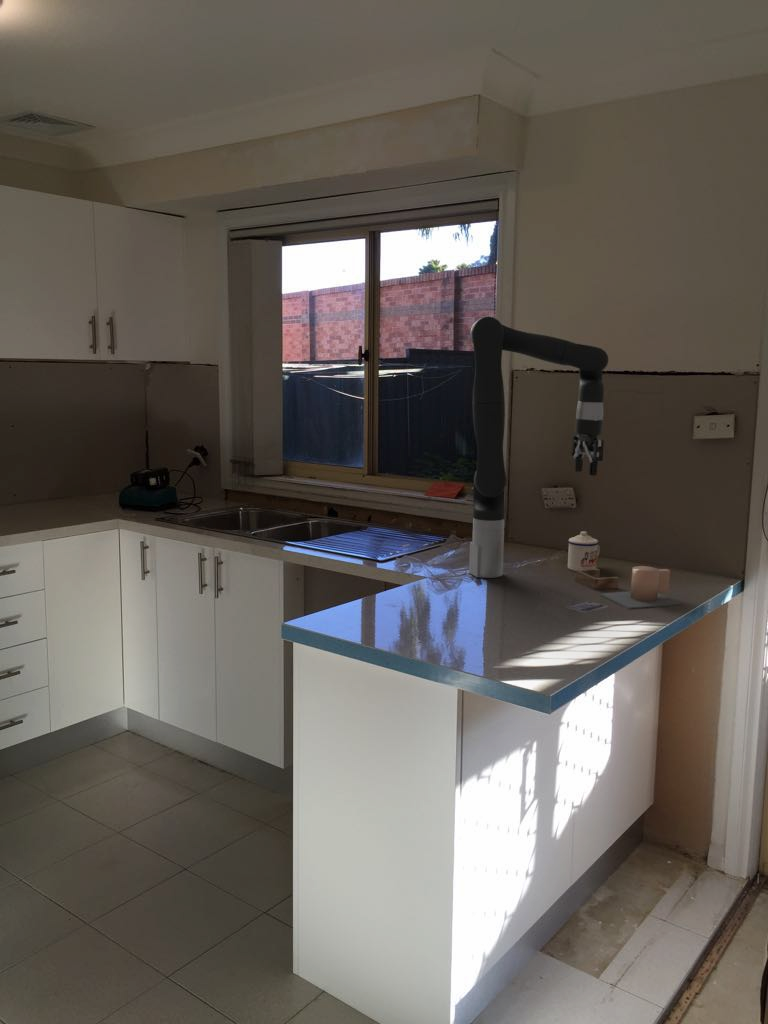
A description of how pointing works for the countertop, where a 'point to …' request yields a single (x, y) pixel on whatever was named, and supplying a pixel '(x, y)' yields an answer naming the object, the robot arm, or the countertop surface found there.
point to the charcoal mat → (630, 603)
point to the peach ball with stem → (648, 583)
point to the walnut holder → (595, 579)
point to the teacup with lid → (582, 552)
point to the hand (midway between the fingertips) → (585, 473)
